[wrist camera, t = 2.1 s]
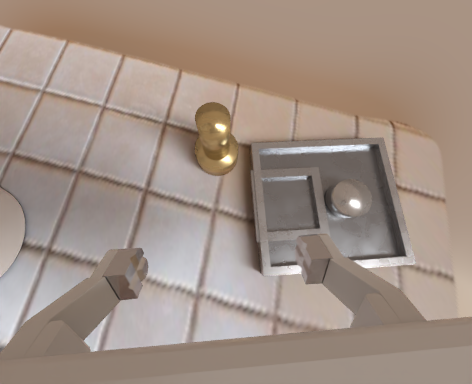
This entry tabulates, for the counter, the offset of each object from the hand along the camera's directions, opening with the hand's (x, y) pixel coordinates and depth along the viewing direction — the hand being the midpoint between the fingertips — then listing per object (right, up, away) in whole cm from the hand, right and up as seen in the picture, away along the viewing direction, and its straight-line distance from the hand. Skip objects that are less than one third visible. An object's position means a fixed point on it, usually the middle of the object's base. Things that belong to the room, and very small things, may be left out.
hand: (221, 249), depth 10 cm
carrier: (+13, +1, +18) cm, 23 cm away
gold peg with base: (-2, +8, +19) cm, 21 cm away
